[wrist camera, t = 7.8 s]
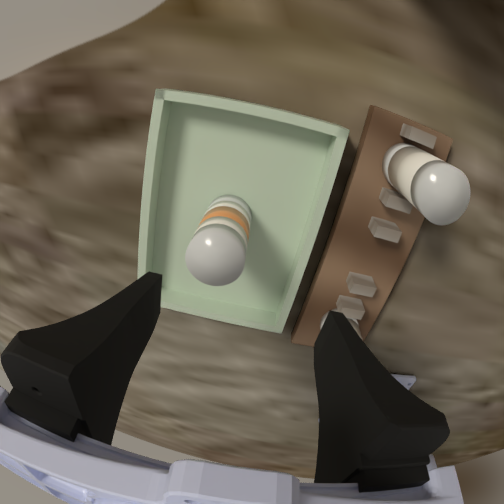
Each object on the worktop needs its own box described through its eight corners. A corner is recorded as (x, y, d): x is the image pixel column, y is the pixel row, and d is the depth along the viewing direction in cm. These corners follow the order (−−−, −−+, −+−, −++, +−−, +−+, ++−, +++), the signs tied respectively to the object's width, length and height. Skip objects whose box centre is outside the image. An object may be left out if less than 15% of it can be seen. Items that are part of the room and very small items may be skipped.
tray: (281, 315, 26) (281, 333, 24) (146, 284, 25) (137, 300, 23) (341, 125, 18) (349, 129, 17) (167, 88, 18) (155, 89, 16)
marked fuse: (246, 240, 22) (238, 291, 17) (203, 231, 22) (182, 279, 17) (256, 200, 21) (250, 241, 15) (210, 190, 21) (188, 227, 15)
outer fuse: (414, 193, 19) (456, 231, 14) (375, 180, 19) (410, 216, 14) (429, 151, 18) (478, 178, 12) (389, 136, 18) (432, 157, 12)
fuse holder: (354, 345, 27) (359, 365, 25) (291, 334, 27) (291, 355, 25) (446, 136, 18) (464, 143, 16) (370, 105, 18) (382, 107, 15)
